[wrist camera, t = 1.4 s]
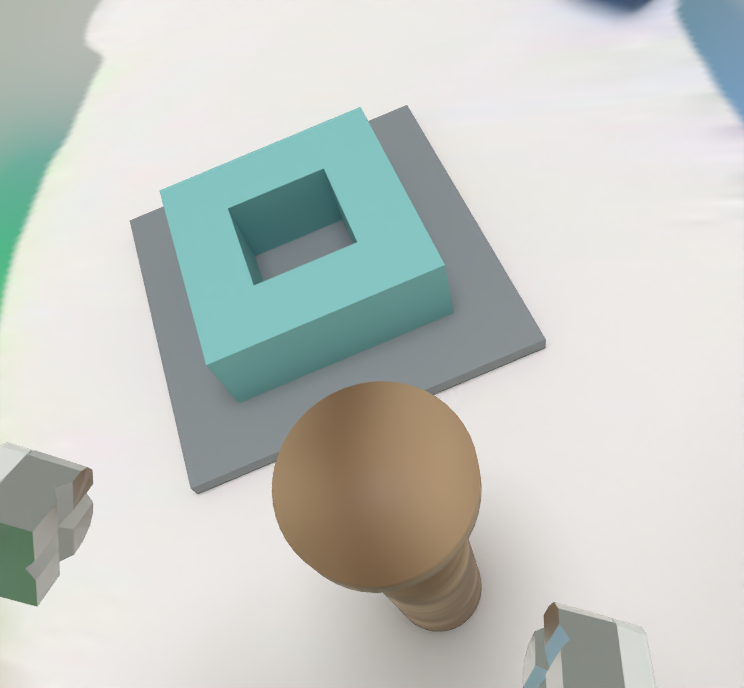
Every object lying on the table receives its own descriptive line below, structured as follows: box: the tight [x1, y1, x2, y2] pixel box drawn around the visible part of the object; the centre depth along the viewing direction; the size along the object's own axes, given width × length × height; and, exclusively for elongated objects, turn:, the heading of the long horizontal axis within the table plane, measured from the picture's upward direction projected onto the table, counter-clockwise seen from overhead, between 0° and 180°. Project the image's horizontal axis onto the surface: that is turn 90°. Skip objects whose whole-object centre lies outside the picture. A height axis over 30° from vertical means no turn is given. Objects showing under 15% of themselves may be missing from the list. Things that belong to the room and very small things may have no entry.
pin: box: [272, 381, 481, 631], centre depth 29 cm, size 6×6×17 cm
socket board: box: [130, 105, 546, 494], centre depth 45 cm, size 22×22×6 cm
